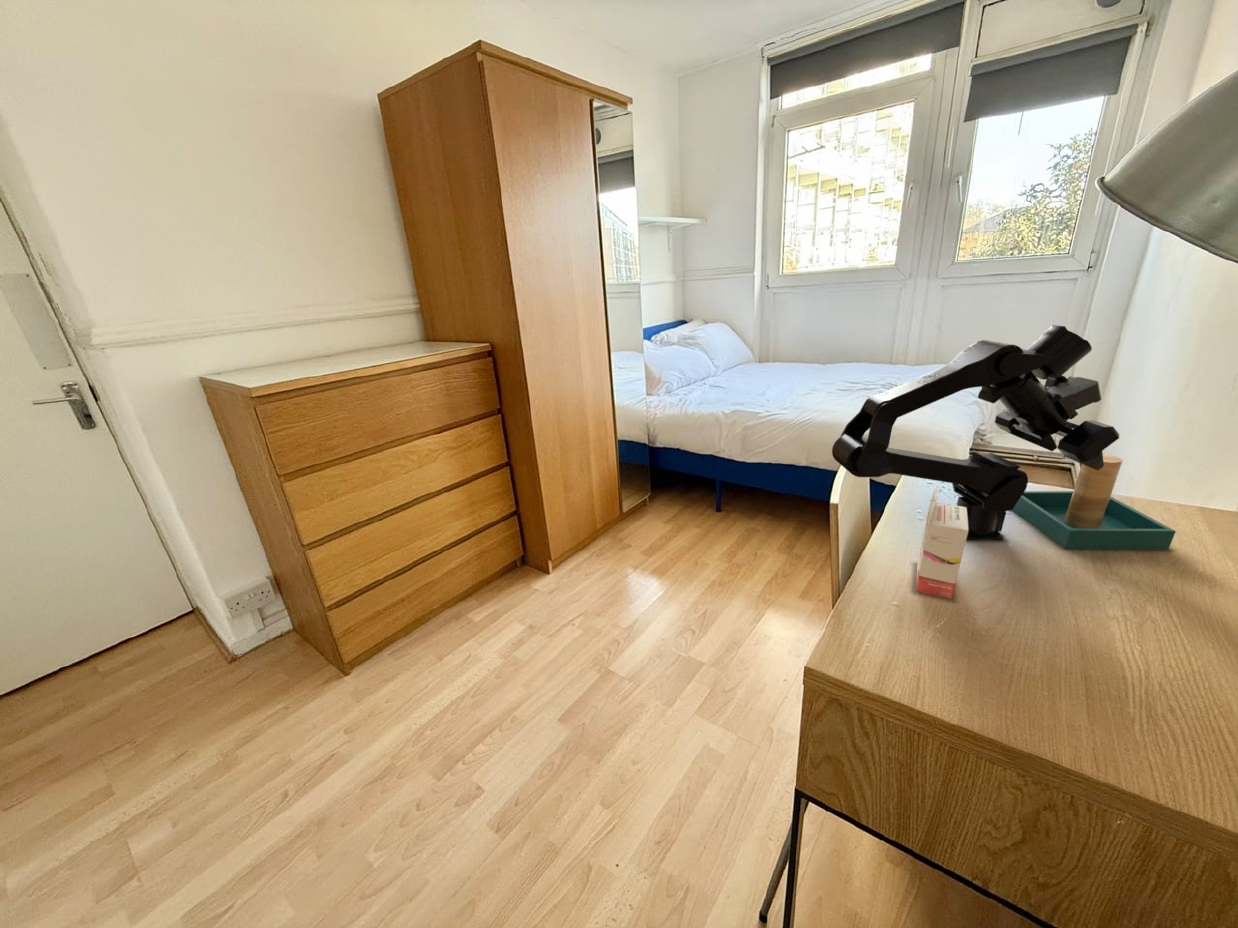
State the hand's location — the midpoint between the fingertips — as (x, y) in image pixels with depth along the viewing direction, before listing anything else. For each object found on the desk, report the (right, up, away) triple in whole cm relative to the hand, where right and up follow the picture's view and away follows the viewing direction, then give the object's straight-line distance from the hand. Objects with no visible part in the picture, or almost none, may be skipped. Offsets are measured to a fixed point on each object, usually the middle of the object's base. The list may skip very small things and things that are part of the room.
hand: (1076, 458), depth 85 cm
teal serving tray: (+5, -12, +5) cm, 14 cm away
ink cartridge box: (-29, -20, -8) cm, 36 cm away
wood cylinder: (+5, -12, +5) cm, 14 cm away
